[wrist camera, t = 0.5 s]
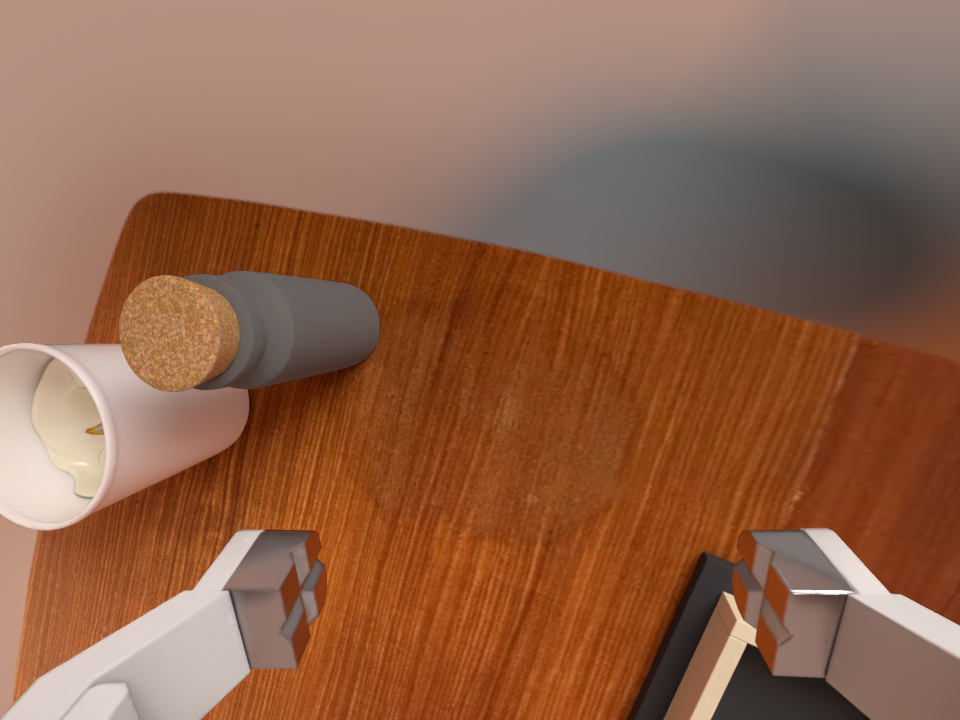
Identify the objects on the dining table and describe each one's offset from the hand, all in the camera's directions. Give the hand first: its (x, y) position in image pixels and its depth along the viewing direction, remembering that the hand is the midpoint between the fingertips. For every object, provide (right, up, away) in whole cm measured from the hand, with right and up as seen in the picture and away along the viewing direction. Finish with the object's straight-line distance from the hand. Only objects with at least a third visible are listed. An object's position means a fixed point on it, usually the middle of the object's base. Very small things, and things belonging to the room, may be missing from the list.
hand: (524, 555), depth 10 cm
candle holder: (-21, +1, +28) cm, 35 cm away
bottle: (-10, +6, +25) cm, 28 cm away
